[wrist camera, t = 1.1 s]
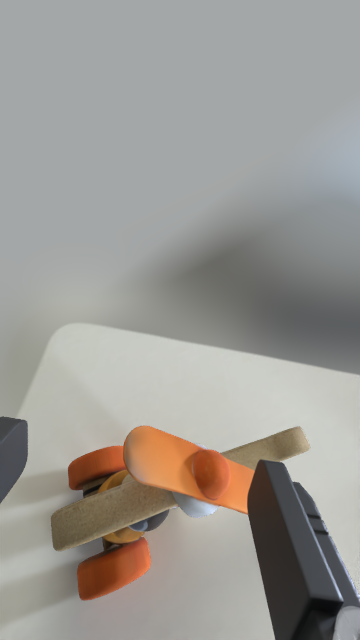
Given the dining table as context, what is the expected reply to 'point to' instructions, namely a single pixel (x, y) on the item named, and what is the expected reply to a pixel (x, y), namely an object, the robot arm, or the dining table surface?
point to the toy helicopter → (153, 496)
